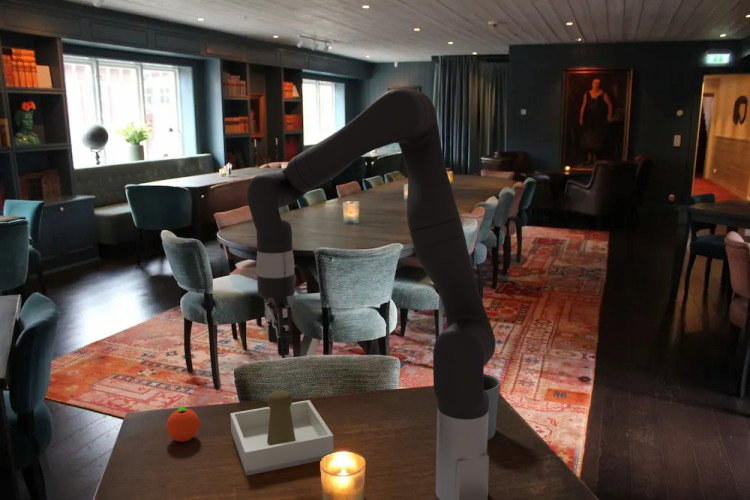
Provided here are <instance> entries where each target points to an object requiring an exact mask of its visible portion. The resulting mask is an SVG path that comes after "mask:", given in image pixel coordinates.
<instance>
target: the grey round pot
mask: <svg viewBox="0 0 750 500" xmlns="http://www.w3.org/2000/svg"><path fill="white" fill-rule="evenodd" d="M500 389H501V381H500V380H499V379H498V378H497V377H495V376H494V375H490V374H486V373H484V377H483V390H484V391H485V392H486V393H487V394H488V397H489V413H488V438H487V441H488V440H491V439H493V437H494V436H495V435H496V429H497V413H498V405H499V403H498V402H499V397H500Z"/></svg>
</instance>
